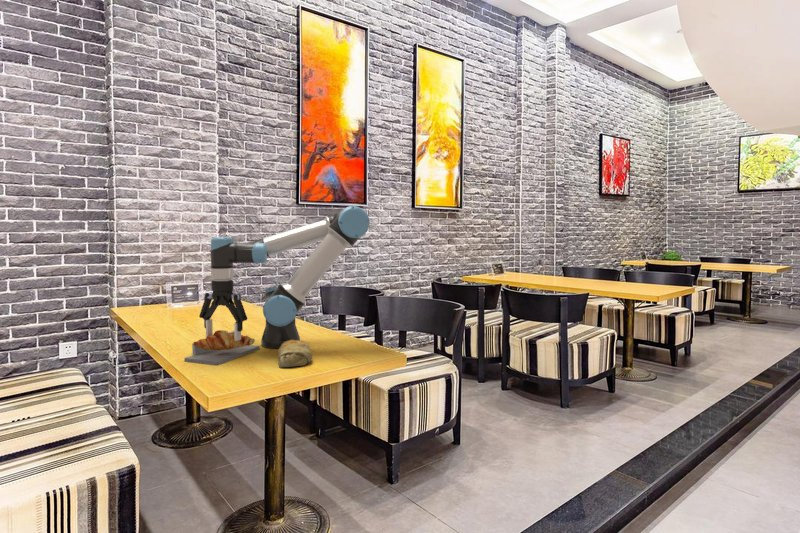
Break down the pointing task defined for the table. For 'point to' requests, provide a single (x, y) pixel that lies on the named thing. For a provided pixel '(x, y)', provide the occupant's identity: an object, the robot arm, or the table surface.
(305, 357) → the pastry
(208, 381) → the table surface
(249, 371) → the table surface
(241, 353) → the serving plate
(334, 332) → the table surface
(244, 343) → the croissant
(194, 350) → the divider
